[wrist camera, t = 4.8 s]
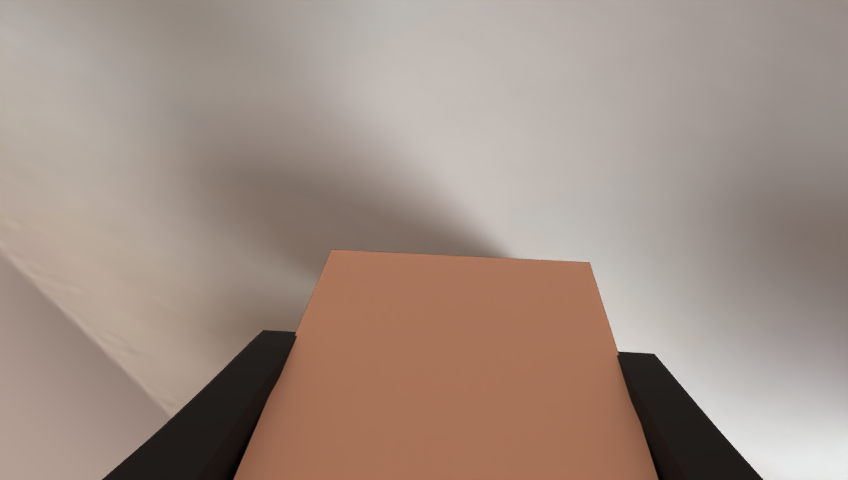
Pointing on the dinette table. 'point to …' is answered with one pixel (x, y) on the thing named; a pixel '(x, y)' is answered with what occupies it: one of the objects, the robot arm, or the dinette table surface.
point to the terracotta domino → (450, 377)
